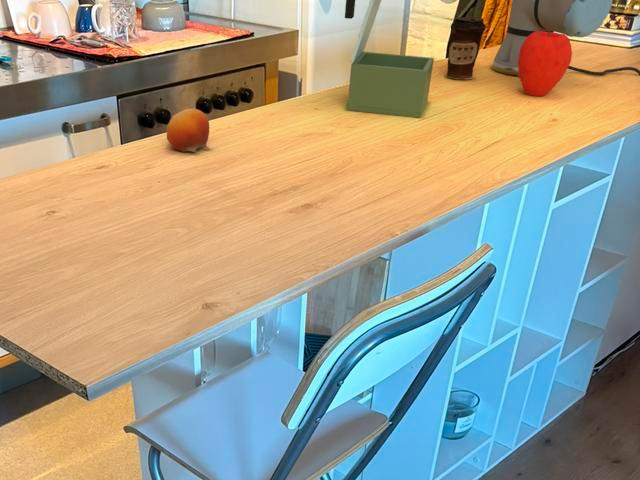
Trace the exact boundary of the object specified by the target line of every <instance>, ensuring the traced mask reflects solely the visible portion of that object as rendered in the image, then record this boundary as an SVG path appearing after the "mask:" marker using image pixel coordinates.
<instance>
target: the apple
mask: <svg viewBox="0 0 640 480" xmlns="http://www.w3.org/2000/svg"><path fill="white" fill-rule="evenodd" d="M572 55H573V49H572V43H571V41H570V38H569V36H567V35H565V34H562V33H558V32H554V33H553V32H550V30H549V31H548V32H543V31H535V32H533V33H532V34H530V35H529V36H528V37H527V38H526V39H525V41H524V42H523V44H522V46H521V48H520V53H519V58H518V72H519V76H518V77H519V80H520V84H521V86H522V89H523V91H524V94H526V95H529V96H533V97H544V96H545V95H547V94H550V93H551V91H552V90H554V88H555V86H557V84H559V82H560V81H561V79H563V77H564V75H565V73H566V72H567V71H568V70H569V69H568V67H569V66H570V64H571V62H572Z"/></svg>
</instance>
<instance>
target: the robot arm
mask: <svg viewBox="0 0 640 480" xmlns="http://www.w3.org/2000/svg"><path fill="white" fill-rule="evenodd" d="M613 1H614V0H511V6H510V11H509V17H508V23H507V28H506V32H505V36H504V38H503V40H502V42H501V43H500V46H499V48H498V50H497V52H496V55H495V56H494V58H493V61H492V65H491V66H492V67H491V68H492V70H494V71H495V72H498V73H500V74H504V75H510V76H517V77H519V72H518V58H519V53H520V48H521V46H522V44H523V42H524V41H525V39H526V38H527V37H528V36H529V35H530V34H532V33H533V32H535V31H543V32H548V31H549V30H550V32H553V33H559V34H565V35H566V36H567V37H568V38H569V37H571V38H572V37H576V38H586V37H588V36H591V35H592V34H594V33H595V32H596V31H598V30H599V28H600V27H601V26H602V25H603V23H604V21H605V20H606V19H607V18H608V15H609V14H610V11H611V9H612V6H613ZM344 8H345V9H344V10H345V11H344V19H347V20H348V19H349V20H352V19H353V18H354V17H355V8H356V0H345V7H344ZM567 70H571V71H573V72H574V71H575V72H578V73H583V74H587V75H592V76H604V75H605V74H608V73H609V74H610V73H616V72H623V71H633V72H635V73H637V74H638V75H639V76H640V69H639V68H637V67H633V66H624V67H617V68H611V69H604V70H602V71H592V70H588V69H583V68H580V67H579V68H578V67H575V66H571V65H569V67H568V69H567Z"/></svg>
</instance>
